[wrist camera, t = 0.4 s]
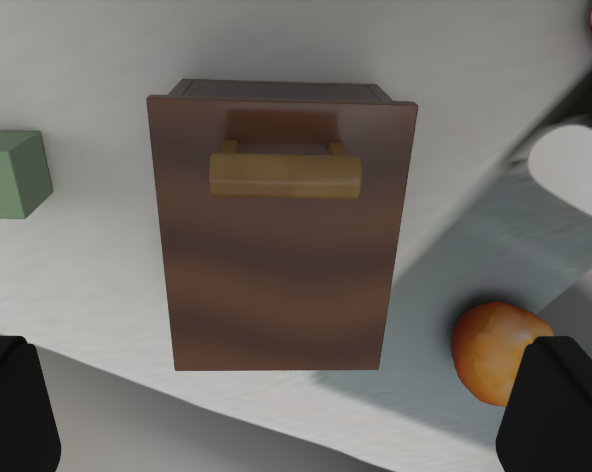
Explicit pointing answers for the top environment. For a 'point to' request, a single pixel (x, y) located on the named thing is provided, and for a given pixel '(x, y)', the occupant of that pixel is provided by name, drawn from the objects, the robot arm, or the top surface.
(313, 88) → the box
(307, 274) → the lid
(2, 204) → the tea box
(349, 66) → the top surface
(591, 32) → the soda can
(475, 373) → the fruit
